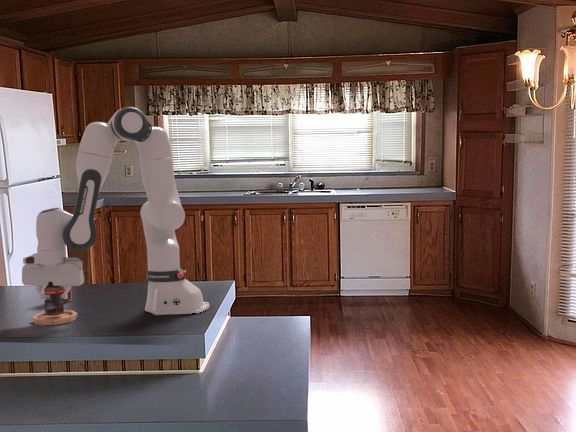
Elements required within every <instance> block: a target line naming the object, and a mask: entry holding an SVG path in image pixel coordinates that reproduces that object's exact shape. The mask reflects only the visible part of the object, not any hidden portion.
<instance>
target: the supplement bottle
mask: <svg viewBox="0 0 576 432" xmlns="http://www.w3.org/2000/svg"><path fill="white" fill-rule="evenodd" d="M43 291H44V299H43V300H44V312H45V314H46V315H49V316H55V315H60V314H63V313H64V310H65V308H64V307H65V304H64V300H63V299H61V294H63V287H62V286H53V283H52V281H49V282H48V286H44V289H43Z"/></svg>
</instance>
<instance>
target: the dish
mask: <svg viewBox="0 0 576 432" xmlns="http://www.w3.org/2000/svg"><path fill="white" fill-rule="evenodd" d="M77 317H78V312H76V311H74V310H69V309H68V310H66V309H64V313H63V314H60V315H55V316H49V315H46V314H45V311H44V312H40V313H37V314H36V315H34V316H32V320H33V324H35V325H37V326H43V325H50V326H57V325H59V324H60V325H65V324H68V323H72V322H74V321H75V320H76V319H77ZM60 325H59V326H60Z"/></svg>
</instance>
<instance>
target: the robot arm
mask: <svg viewBox="0 0 576 432" xmlns="http://www.w3.org/2000/svg"><path fill="white" fill-rule="evenodd" d="M122 142H123V143H124V142H125V143H127V142H134V143H135V144H136V147H137V150H138V151H139V152H138V153H139V160H140V161H139V166H140V172H141V182H142V185H143V188H144V190H145V193H146V197H147V200H146V202H144V203H143V205H142V206H141V208H140V211H139V212H140V218H141V221H142V228H143V234H144V238H145V243H146V254H147V270H146V284H147V285H146V286H147V297H146V303H145V307H144V311H145V312H147V313H150V314H152V315H154V316H163V315H167V316H168V315H189V314H190V315H193V314H192V313H196V314H200V312H201V313H203V311H204V312H205V310H206V311H207V310H208V309H209V308H210V303H209V302H208V301H204V298H203V293H202V291H201V290H202V289H200V287H197V286H196V285H194V284H193V283H192V282H191V281H189V280H188V279H186V274H187V270H186V269H182V268H181V265H180V245H179V242H178V240H177V235H176V231H175V230H178V229H179V228H180V227H181V226H183V224H184V223H185V219H186V212H185V210H184V208H183V205H182V203H181V198H180V195H179V191H178V188H177V184H176V178H175V171H174V161H173V153H172V146H171V142H170V138H169V136H168V133H167V131H166V130H165V129H164V128H162V127H159V126H153V125H152V124H151V122H150V121H149V119H148V118H147V116H146V115H145V113H144V112H143V111H141V110H140V109H139V108H137V107H134V106H127V107H126V106H125V107H123V108H120V109H118V110H117V111H116V112H115V113H114V114H113V115H112V116H111V117H110V118H109V119H108V120H107V121H106V122H103V121H95V122H94V121H93V122H91V123H88V125H87V126H86V127H85V129H84V131H83V135H82V137H81V140H80V143H79V148H78V151H77V155H76V166H75V168H76V170H75V171H76V178H77V184H78V186H77V187H78V188H77V189H78V190H77V197H76V200H75V201H76V202H75V206H74V210H73V214H72V213H70V212H68V211H65V210H64V209H62V208H61V207H51V208H47V209H43V210H41V211H40V212H39V213H38V215H37V216H36V221H35V222H36V223H35V229H36V230H35V232H36V233H35V234H36V239H37V247H36V251H37V252H36V253H32V254H31V255H28V256H25V257H23V258H22V263H23V266H22V268H21V283H22V284H23V286H27V287H28V286H30V287H31V286H33V287H36V288H35V289H36V290H37V293H38V294H39V296H40V297H39V299H41V300H44V289H43V288H45V287H46V286H48V282H49V281H52V283H53V286H64V289H65V291H64V293H63V294H61V299H67V298H68V292H69V290H70V288H71V289H72V287H79V286H82V285H83V284H84V283H85V276H84V270H83V266H84V265H83V261H82V260H81V258H79V257H67V248H66V247H68V248H69V249H70V250H71V251H75V252H84V251H87V250H88V249H90V248H92V247H93V246H94V244H95V242H96V239H97V229H96V227H95V223H94V222H95V215H96V209H97V204H98V199H99V198H98V197H99V194H100V193H101V192H100V190H101V189H102V187H103V184H104V182H105V181H106V178H107V176H108V174H109V172H110V168H111V166H112V161H113V156H114V151H115V148H116V146H117V144H118V143H122Z"/></svg>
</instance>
